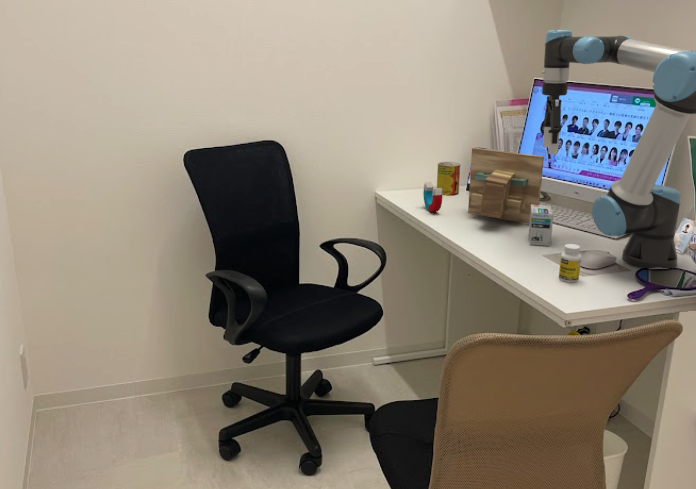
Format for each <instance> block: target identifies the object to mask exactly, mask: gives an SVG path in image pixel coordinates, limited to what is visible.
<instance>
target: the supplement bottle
mask: <svg viewBox="0 0 696 489" xmlns="http://www.w3.org/2000/svg"><path fill="white" fill-rule="evenodd" d="M580 249H581V247H580V245H578V244H573V243H567V244H566V243H565V244H564V249H563V250H564V251H563V252H562V253H561V254H560V261H559V271H558V279H559V280H560V281H563V282H565V283H576V282H578V281H579V280H580V272H581V264H582V255H581V254H580Z"/></svg>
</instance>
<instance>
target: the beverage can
mask: <svg viewBox="0 0 696 489" xmlns="http://www.w3.org/2000/svg"><path fill="white" fill-rule="evenodd" d="M436 174H437V175H436V178H437V179H436V188H442V196H445V197H447V196H448V197H451V196H457V195H459V194H460V178H461V164H460V163H458V162H453V161H441V162H437V173H436Z"/></svg>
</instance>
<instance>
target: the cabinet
mask: <svg viewBox="0 0 696 489" xmlns="http://www.w3.org/2000/svg"><path fill="white" fill-rule="evenodd" d="M512 178H514V173H511V172H505V171H500V170H495V171H494V172H493V173H492V174H490V175H489V176H488V177H487V178H486V179H485V183H484V189H483V196H482V202H481V209H480V214H483V215H488V216H493V217H498V218H501V216H502V215H503V213H504V212H505V211H506V205H507V199H508V193H509V188H510V182H511V179H512ZM488 216H487V217H488ZM493 217H492V218H493ZM498 218H497V219H498Z"/></svg>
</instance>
